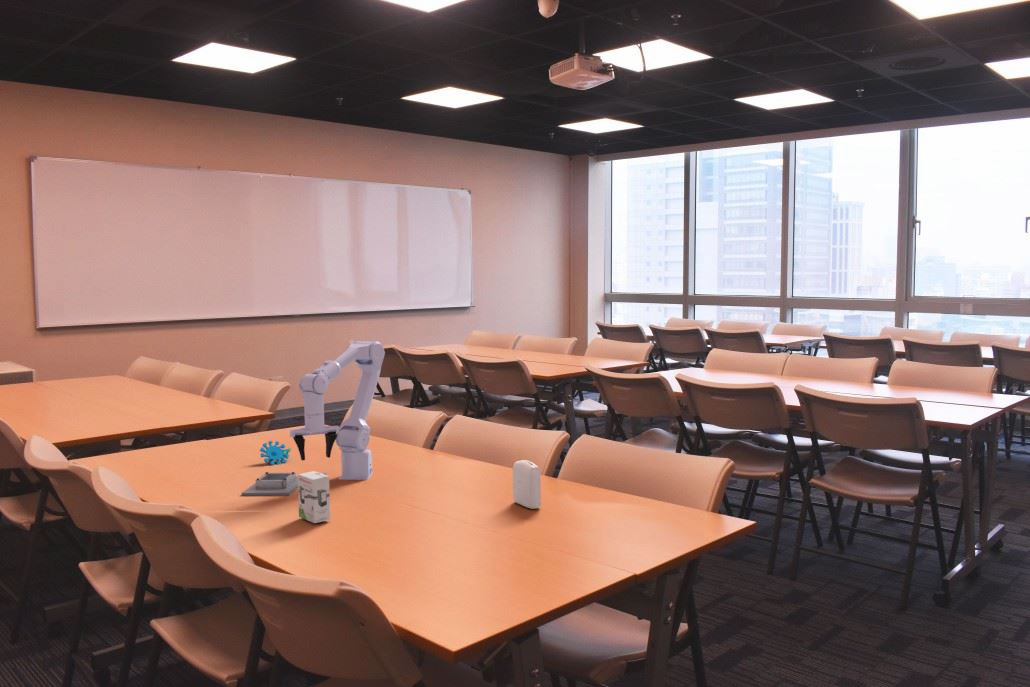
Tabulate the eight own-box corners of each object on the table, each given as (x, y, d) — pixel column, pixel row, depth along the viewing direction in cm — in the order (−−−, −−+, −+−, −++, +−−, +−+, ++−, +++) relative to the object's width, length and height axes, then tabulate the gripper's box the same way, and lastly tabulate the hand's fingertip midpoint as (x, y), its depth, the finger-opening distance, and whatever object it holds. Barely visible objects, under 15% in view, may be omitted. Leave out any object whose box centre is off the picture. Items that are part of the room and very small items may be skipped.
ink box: (297, 517, 219) (296, 473, 218) (314, 513, 222) (313, 470, 221) (314, 523, 213) (313, 478, 212) (331, 519, 216) (330, 475, 215)
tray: (308, 479, 261) (307, 467, 260) (288, 495, 241) (288, 483, 241) (264, 479, 261) (264, 467, 261) (241, 495, 241) (241, 483, 241)
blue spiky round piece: (266, 465, 276) (256, 441, 280) (261, 475, 279) (252, 451, 284) (296, 460, 283) (287, 437, 287) (291, 470, 286) (282, 446, 291)
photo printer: (511, 501, 232) (510, 458, 231) (524, 499, 234) (523, 456, 233) (529, 510, 223) (529, 465, 222) (543, 508, 225) (542, 463, 224)
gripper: (334, 409, 254) (335, 453, 255) (286, 413, 247) (288, 458, 248) (340, 413, 248) (342, 457, 249) (292, 417, 241) (293, 463, 242)
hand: (315, 458), depth 248 cm, fingers open, 7 cm apart
